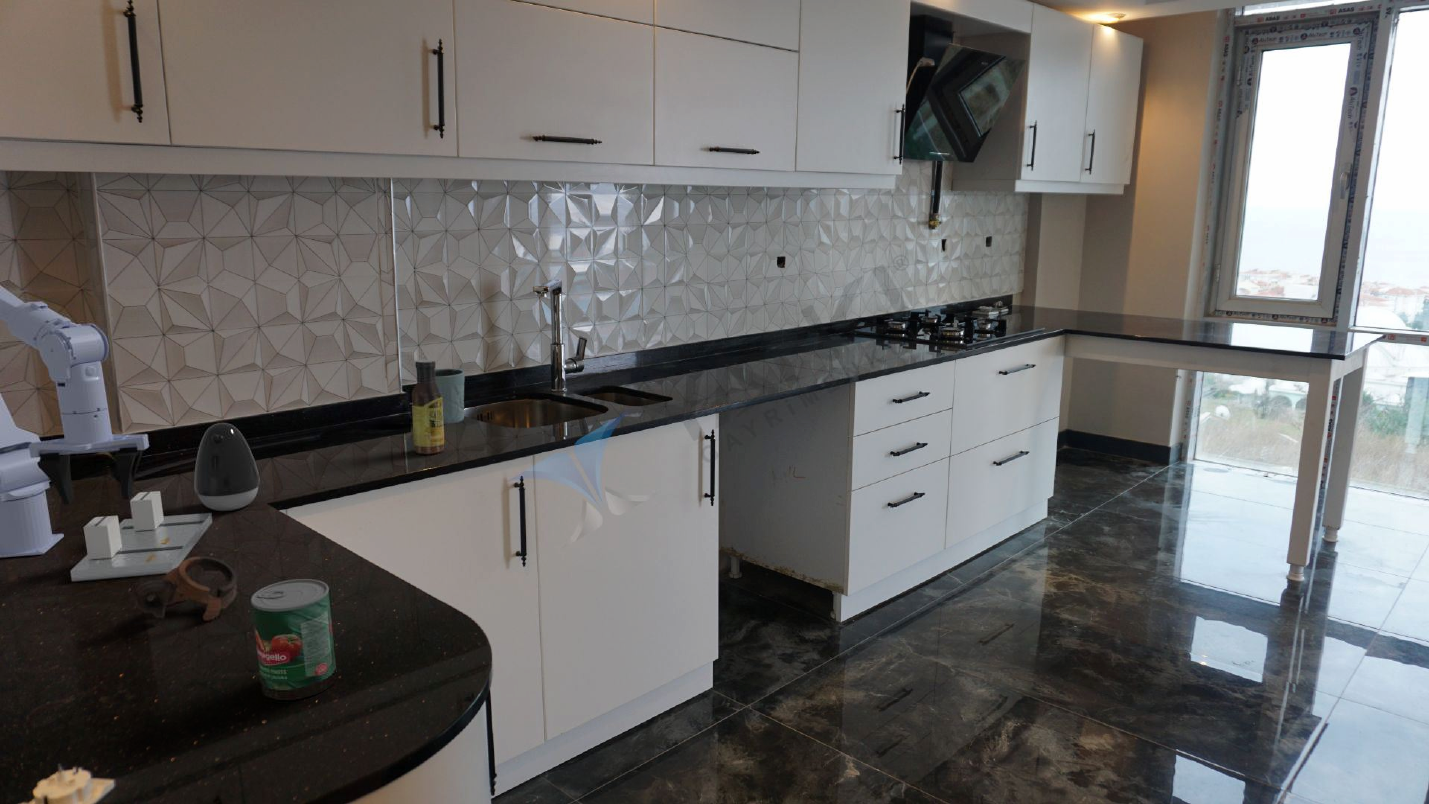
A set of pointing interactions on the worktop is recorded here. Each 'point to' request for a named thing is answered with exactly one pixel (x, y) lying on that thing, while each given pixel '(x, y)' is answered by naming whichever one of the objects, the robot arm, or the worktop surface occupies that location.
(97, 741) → the worktop surface
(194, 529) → the board
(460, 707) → the worktop surface
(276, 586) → the canned tomato
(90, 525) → the cap
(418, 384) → the sauce bottle
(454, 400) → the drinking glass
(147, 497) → the far fader cap
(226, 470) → the black egg shape
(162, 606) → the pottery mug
